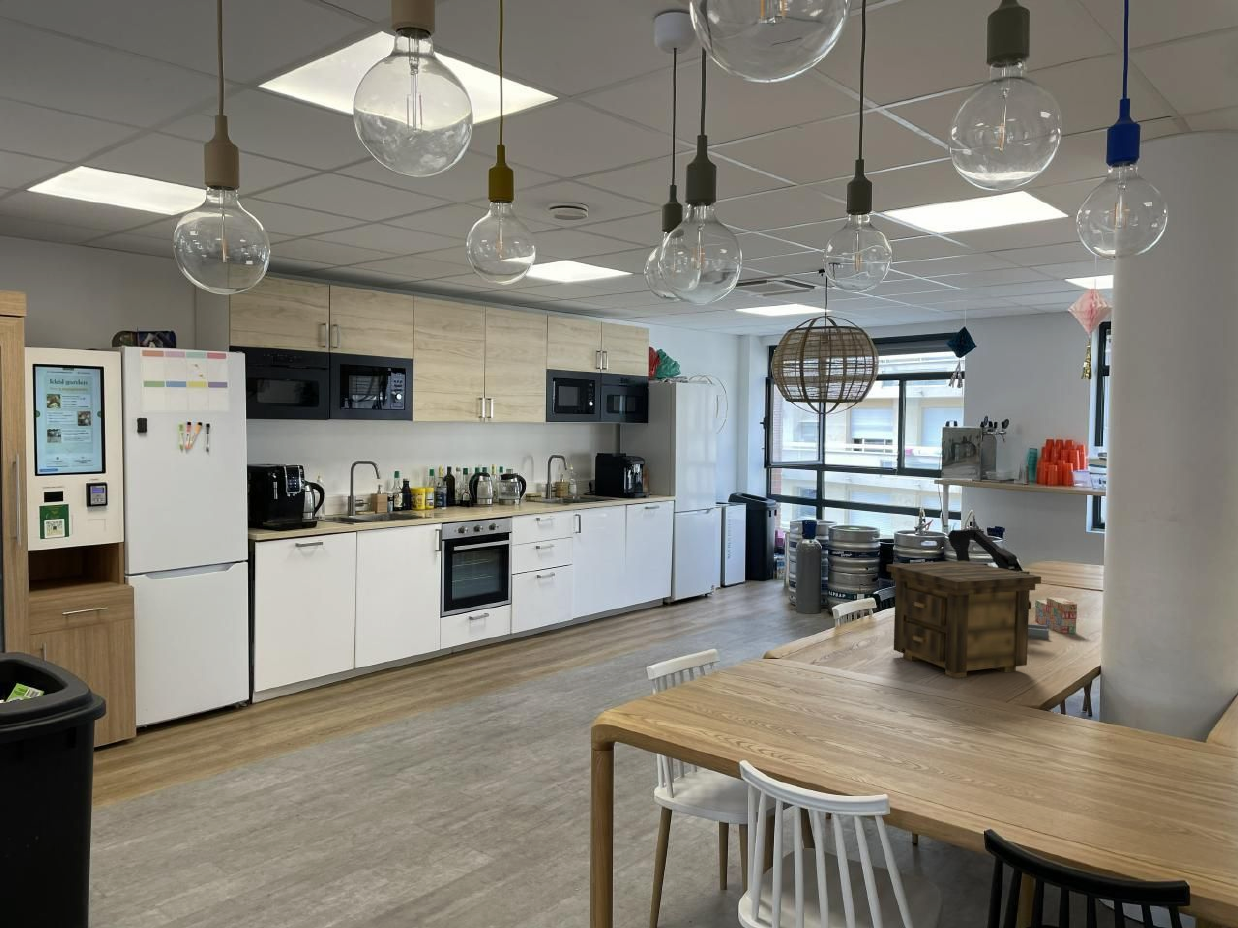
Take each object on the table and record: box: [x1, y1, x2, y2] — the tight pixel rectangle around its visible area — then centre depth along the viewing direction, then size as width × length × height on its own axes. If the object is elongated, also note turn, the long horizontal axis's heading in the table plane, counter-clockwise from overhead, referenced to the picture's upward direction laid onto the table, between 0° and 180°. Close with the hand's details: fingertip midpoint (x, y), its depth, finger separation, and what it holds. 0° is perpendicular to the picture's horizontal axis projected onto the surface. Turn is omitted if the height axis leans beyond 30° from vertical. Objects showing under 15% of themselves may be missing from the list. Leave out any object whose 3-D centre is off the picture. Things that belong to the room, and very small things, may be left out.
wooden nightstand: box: [885, 560, 1042, 678], centre depth 294 cm, size 35×35×33 cm
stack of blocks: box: [1034, 597, 1078, 634], centre depth 353 cm, size 21×6×12 cm, turn 1°
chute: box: [1028, 623, 1050, 640], centre depth 340 cm, size 20×9×4 cm, turn 66°
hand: (1004, 623), depth 342 cm, fingers closed
